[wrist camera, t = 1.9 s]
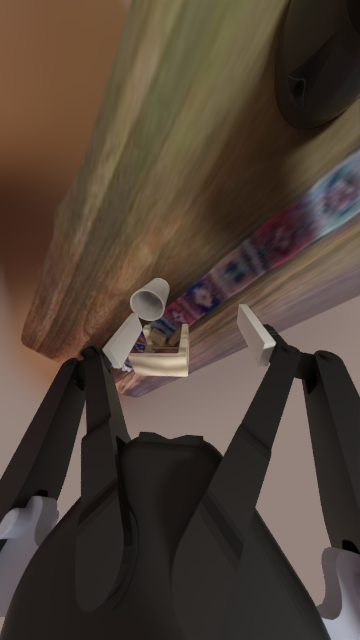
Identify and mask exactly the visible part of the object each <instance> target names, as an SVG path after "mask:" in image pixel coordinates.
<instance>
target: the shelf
mask: <svg viewBox="0 0 360 640" xmlns="http://www.w3.org/2000/svg"><path fill="white" fill-rule="evenodd" d="M143 333H144V336H145V339H146V342H147V346H146V348H145V350H144V353H129V355H128V358H129V360H130V362H131V365H132V367H133V369H134V371H135V373H136V375H153V376H186V377H187V376H188V359H189V330H188V324H182V328H181V327H179V328H178V329H177V330H176V331H175V332H174V333H173V334H171V335H170V338H169V340H166V335H165V334H163V333H162V332H160V331H159V330H157V329H156V328H153V329H151V325H145V326H144V328H143ZM152 349H179V353H151V351H152Z"/></svg>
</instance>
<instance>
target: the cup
mask: <svg viewBox="0 0 360 640" xmlns="http://www.w3.org/2000/svg"><path fill="white" fill-rule="evenodd" d="M168 294H169V285H168V283H167V282H166V281H165V280H163V279H161V278H155V279H153V280H152V281H151V282H149V283H148V284H147V285H145V286H144V287H142V288H141V289H139V290H138V291H136V292H135V293H134V294H133V295H132V297H131V299H130V305H131V308H132V310H133V312H134V313H137V315H138V317H140V318H141V319H144V320H147V321H154V320H157V319H159V318H160V317H161V316H162V315H163V313H164V310H165V305H166V301H167V297H168Z"/></svg>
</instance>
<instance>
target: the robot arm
mask: <svg viewBox="0 0 360 640" xmlns="http://www.w3.org/2000/svg"><path fill="white" fill-rule="evenodd" d="M275 89H276V97H277V101H278V105H279V108H280V110H281V113H282V114H283V116H284V118H285V119H286V120H287V121H288V122H289V123H290V124H291V125H293V126H295V127H298V128H302V129H310V128H315V127H318V126H321V125H323V124H325V123H327V122H329V121H331V120H332V119H334V118H335V117H337V116H338V115H339V114H341V113H342V112H343V111H344V110H346V109H347V108H348V107H349V106H350V105H352V104H353V103H354V102H355V101H356V100H357V99H359V98H360V0H291V2H290V5H289V8H288V11H287V14H286V17H285V20H284V24H283V27H282V31H281V35H280V40H279V45H278V50H277V57H276V66H275ZM237 325H238V327H239V329H240V331H241V333H242V335H243V337H244V339H245V341H246V343H247V345H248V347H249V349H250V351H251V353H252V355H253V357H254V359H255V361H256V363H257V365H258V366H268V364H269V362H270V366H269V368H268V371H267V372H266V374H265V376H264V378H263V380H262V382H261V384H260V386H259V388H258V390H257V392H256V395H255V396H254V398H253V401H252V403H251V405H250V407H249V409H248V411H247V413H246V415H245V417H244V419H243V421H242V423H241V424H240V426H239V427H238V429H237V431H236V433H235V435H234V437H233V439H232V441H231V443H230V445H229V447H228V449H227V451H226V453H225V455H224V457H223V456H222V454H221V453H220V452H219V451H218V450H217V449H216V448H215V447H214V446H213V445H211V444H210V443H208V442H206V441H204V440H203V436H193V435H185V436H181V437H178V438H174V439H167V438H165V437H162V436H161V435H158V434H156V433H152V432H151V433H150V432H140V434H139V437H136V438H134V439H133V440H131V438H130V436H129V435H128V432H127V428H126V424H125V420H124V416H123V413H122V409H121V405H120V401H119V397H118V393H117V389H116V385H115V382H114V378H113V374H112V370H111V368H110V367H111V365H113V367H114V368H121V367H122V366H123V364H124V362H125V360H126V358H127V357H128V355H129V353H130V351H131V349H132V348H133V346H134V344H135V342H136V340H137V339H138V337H139V335H140V333H141V331H142V326H141V323H140V321H139V318H138V315H137V313H131V314H130V316H129V317H128V318H127V319H126V321H125V322H124V323H123V324H122V325H121V327H120V328H119V329H118V330H117V332H116V333H115V334H113V335H111V336H110V337H109V338H108V339H107V341H106V342H105V343H104V344H103V345H102V347H101V348H100V349H99V350H97V348H96V347H95V346H89V347H87V348H85V349H83V350H82V351H81V353H80V355H81V356H82V357H83V359H84V360H80V361H79V360H78V359H77V358H71V359H69V360H67V361H65V362H64V363H63V364H62V366H61V368H60V370H59V371H58V373H57V375H56V377H55V379H54V381H53V382H52V384H51V386H50V388H49V390H48V392H47V394H46V396H45V397H44V399H43V401H42V403H41V405H40V407H39V409H38V410H37V412H36V414H35V416H34V418H33V420H32V422H31V423H30V425H29V427H28V429H27V431H26V433H25V435H24V437H23V438H22V440H21V443H20V444H19V446H18V448H17V450H16V452H15V453H14V455H13V457H12V459H11V461H10V463H9V465H8V466H7V468H6V470H5V472H4V474H3V476H2V478H1V480H0V617H5V621H4V624H3V627H2V630H1V634H0V640H360V397H359V394H358V392H357V390H356V388H355V386H354V384H353V382H352V380H351V377H350V375H349V373H348V371H347V369H346V367H345V365H344V363H343V361H342V359H341V358H340V357H339V356H337V355H335V354H333V353H331V352H328V351H323V350H319V351H316V352H315V353H314V355H313V354H308V353H302V352H300V351H299V350H298V349H297V348H295V347H293V346H290V345H288V344H287V343H286V342H285V341H284V340H283V339H282V338H281V336H280V335H278V333H277V332H276V331H275V329H274V328H273V327H271V326H270V325H268V324H265V325H262V324H261V323H260V321H259V320H258V319H257V318H256V316H255V315H254V314H253V312H252V311H251V310H250V309H249V307H248V306H247V305H246V304H239V308H238V317H237ZM294 377H295V378H299V379H302V384H303V390H304V396H305V402H306V409H307V416H308V422H309V429H310V435H311V442H312V449H313V455H314V462H315V468H316V475H317V481H318V488H319V494H320V500H321V506H322V511H323V516H324V521H325V525H326V529H327V532H328V535H329V539H330V543H331V546H332V547H328V548H326V549H324V551H323V553H322V568H323V573H324V579H325V585H326V589H325V591H326V592H325V598H324V600H323V603H322V604H320V605H318V606H315V604H314V602H313V600H312V598H311V597H310V595H309V593H308V591H307V590H306V588H305V586H304V585H303V583H302V582H301V580H300V578H299V577H298V575H297V574H296V572H295V571H294V569H293V567H292V566H291V564H290V562H289V561H288V559H287V558H286V556H285V554H284V553H283V552H282V550H281V548H280V546H279V545H278V543H277V542H276V540H275V538H274V537H273V535H272V534H271V532H270V530H269V529H268V527H267V526H266V524H265V522H264V521H263V519H262V518H261V516H260V514H259V513H258V511H257V510H256V508H255V506H256V503H257V500H258V497H259V494H260V490H261V487H262V484H263V481H264V477H265V474H266V471H267V467H268V464H269V461H270V458H271V449H272V445H273V442H274V439H275V435H276V432H277V429H278V426H279V423H280V420H281V417H282V414H283V410H284V407H285V404H286V401H287V398H288V395H289V391H290V388H291V385H292V382H293V379H294ZM85 400H86V420H87V421H86V422H87V434H86V435H85V436H84V437H83V438H82V442H81V497H80V498H79V499H78V500H77V501H76V502H75V504H74V505H73V506H72V507H71V508H70V510H69V511H68V512H67V513H66V514H65V515H64V516H63V518H62V519H61V520H60V521H59V522H58V524H57V525H56V523H57V521H58V518H59V511H58V510H57V500H58V497H59V495H60V492H61V489H62V486H63V483H64V480H65V477H66V473H67V470H68V466H69V462H70V458H71V454H72V451H73V447H74V443H75V439H76V435H77V431H78V427H79V423H80V419H81V415H82V411H83V408H84V403H85ZM55 525H56V526H55ZM54 526H55V527H54Z"/></svg>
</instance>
